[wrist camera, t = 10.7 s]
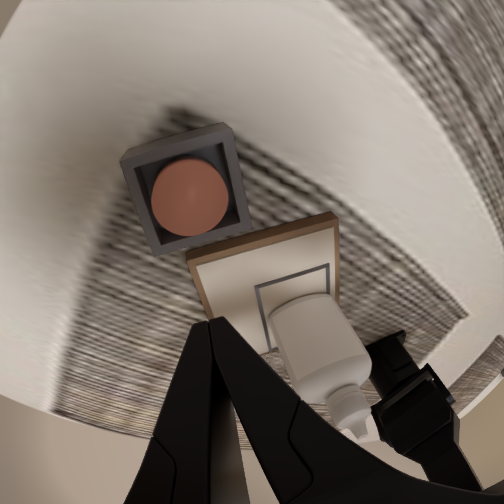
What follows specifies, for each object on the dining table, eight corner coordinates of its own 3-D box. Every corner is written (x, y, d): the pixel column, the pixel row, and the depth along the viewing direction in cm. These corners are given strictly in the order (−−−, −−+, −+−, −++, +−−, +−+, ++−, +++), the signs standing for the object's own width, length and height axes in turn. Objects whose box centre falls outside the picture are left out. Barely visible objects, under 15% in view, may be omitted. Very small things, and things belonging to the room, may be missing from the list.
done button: (228, 210, 18) (235, 224, 17) (165, 228, 18) (164, 244, 16) (214, 146, 16) (219, 154, 14) (144, 166, 16) (141, 177, 14)
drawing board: (333, 320, 29) (339, 331, 27) (225, 355, 28) (227, 367, 26) (330, 211, 22) (340, 219, 21) (185, 251, 21) (186, 263, 20)
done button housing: (241, 208, 20) (252, 228, 18) (156, 233, 20) (154, 256, 17) (223, 122, 17) (232, 128, 15) (127, 149, 16) (119, 161, 14)
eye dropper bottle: (278, 287, 23) (343, 428, 13) (338, 292, 25) (413, 408, 15) (261, 329, 25) (308, 460, 15) (318, 330, 27) (376, 442, 17)
